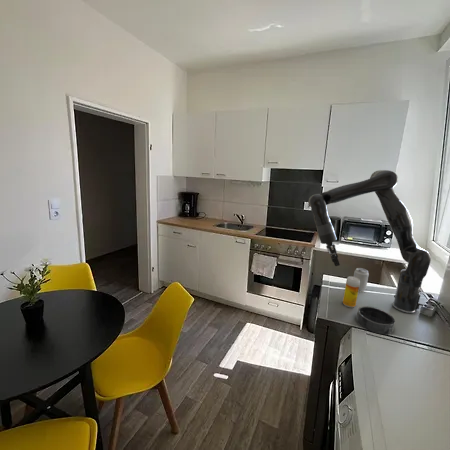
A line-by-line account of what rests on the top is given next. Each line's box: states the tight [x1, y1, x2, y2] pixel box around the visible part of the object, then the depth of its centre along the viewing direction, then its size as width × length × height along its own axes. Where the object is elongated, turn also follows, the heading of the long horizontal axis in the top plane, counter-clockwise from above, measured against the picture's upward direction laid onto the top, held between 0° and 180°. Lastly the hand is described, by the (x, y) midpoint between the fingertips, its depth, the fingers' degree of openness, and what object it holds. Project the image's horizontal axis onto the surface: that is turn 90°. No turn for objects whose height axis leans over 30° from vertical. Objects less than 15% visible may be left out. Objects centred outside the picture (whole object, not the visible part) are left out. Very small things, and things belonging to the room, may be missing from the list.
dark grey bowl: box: [355, 306, 396, 335], centre depth 112 cm, size 15×15×4 cm
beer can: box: [342, 275, 360, 309], centre depth 126 cm, size 6×6×15 cm
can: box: [353, 267, 370, 292], centre depth 146 cm, size 8×8×12 cm
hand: (336, 263), depth 122 cm, fingers open, 8 cm apart
